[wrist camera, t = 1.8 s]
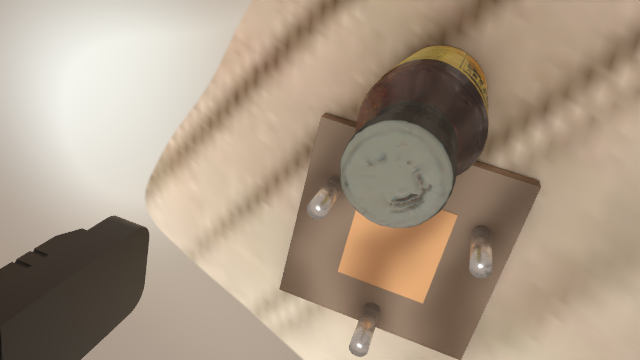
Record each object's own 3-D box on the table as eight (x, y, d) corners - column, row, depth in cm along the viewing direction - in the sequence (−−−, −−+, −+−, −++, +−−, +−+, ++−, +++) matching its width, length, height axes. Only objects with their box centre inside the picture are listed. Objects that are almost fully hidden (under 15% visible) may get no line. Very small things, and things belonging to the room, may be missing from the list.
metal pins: (494, 229, 37) (495, 263, 32) (443, 345, 41) (438, 389, 37) (329, 173, 39) (309, 197, 34) (299, 288, 43) (277, 324, 39)
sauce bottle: (479, 137, 36) (472, 290, 18) (391, 126, 37) (306, 257, 20) (495, 41, 33) (506, 109, 16) (400, 33, 35) (312, 88, 17)
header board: (539, 181, 36) (540, 187, 35) (461, 350, 42) (460, 361, 41) (325, 112, 39) (320, 117, 37) (284, 282, 45) (279, 289, 44)
